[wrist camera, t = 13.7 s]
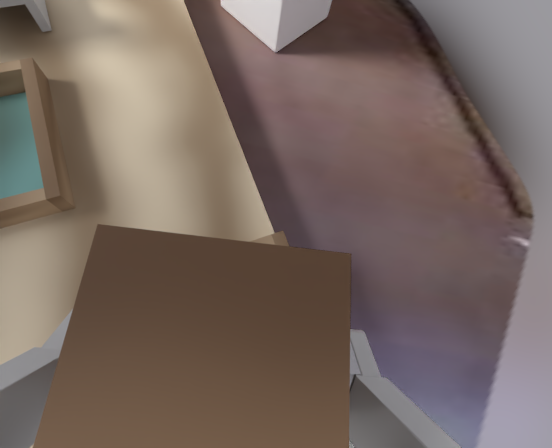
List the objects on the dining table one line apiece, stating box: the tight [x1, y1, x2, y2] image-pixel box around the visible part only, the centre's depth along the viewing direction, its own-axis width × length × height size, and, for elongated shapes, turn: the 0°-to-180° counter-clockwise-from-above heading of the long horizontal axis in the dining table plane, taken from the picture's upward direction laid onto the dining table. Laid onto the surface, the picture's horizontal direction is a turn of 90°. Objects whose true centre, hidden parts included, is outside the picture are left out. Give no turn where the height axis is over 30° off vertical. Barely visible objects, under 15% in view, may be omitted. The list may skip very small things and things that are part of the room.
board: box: [0, 0, 289, 448], centre depth 17 cm, size 18×33×4 cm, turn 21°
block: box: [33, 224, 351, 448], centre depth 10 cm, size 4×4×11 cm
